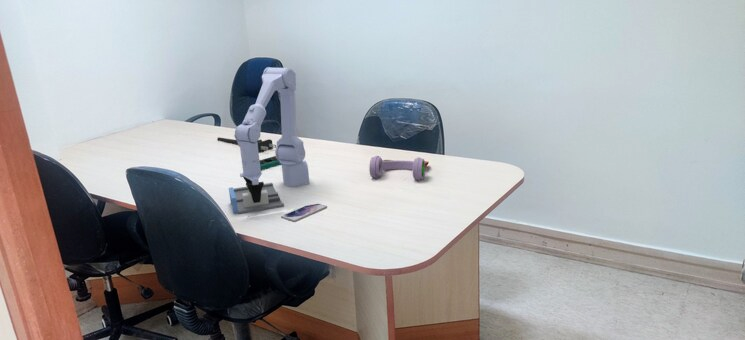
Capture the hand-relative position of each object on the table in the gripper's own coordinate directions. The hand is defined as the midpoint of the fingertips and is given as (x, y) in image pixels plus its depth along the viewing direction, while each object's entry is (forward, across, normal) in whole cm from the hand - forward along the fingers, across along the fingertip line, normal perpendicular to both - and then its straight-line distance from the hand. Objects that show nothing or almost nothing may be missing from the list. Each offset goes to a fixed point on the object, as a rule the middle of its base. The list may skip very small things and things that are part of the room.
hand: (255, 198), depth 185 cm
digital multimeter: (+4, -45, +11) cm, 47 cm away
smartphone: (+3, +12, +14) cm, 19 cm away
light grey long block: (+2, 0, +2) cm, 3 cm away
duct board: (+3, -6, +1) cm, 6 cm away
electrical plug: (+4, -82, +6) cm, 83 cm away
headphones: (+4, -11, +57) cm, 58 cm away
